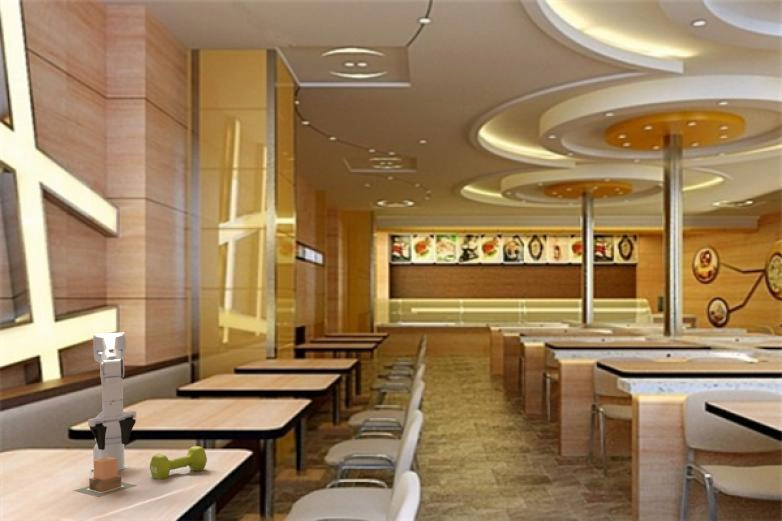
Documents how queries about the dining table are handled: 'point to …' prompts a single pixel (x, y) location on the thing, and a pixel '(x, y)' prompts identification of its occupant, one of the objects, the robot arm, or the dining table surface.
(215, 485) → the dining table surface
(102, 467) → the top block
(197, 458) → the dumbbell
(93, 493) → the grey square base plate
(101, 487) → the base block
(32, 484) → the dining table surface
